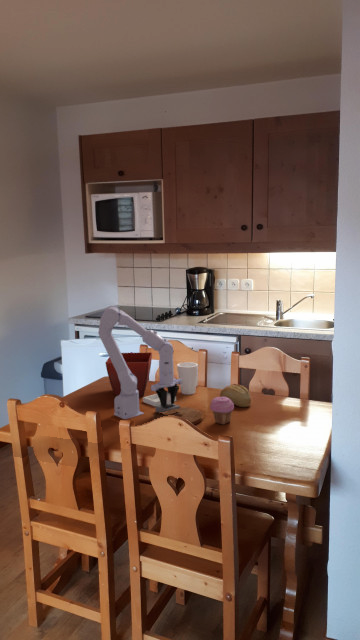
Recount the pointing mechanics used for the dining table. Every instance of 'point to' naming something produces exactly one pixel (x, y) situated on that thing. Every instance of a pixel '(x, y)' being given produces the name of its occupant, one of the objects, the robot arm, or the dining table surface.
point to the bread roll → (237, 395)
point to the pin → (168, 400)
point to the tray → (153, 400)
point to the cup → (162, 409)
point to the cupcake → (222, 409)
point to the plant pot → (138, 368)
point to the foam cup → (187, 377)
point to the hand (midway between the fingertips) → (167, 404)
